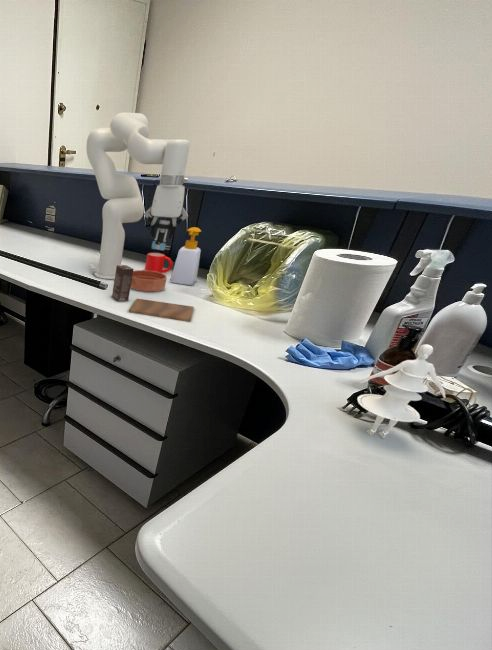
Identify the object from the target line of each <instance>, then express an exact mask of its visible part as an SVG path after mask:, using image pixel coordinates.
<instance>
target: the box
mask: <svg viewBox="0 0 492 650" xmlns="http://www.w3.org/2000/svg"><path fill="white" fill-rule="evenodd" d="M133 271H135V270H134V268H133V267H131V266H129V265H127V264H121V265H117V267H116V273H115V279H113V280H114V281H113V287H112V293H111V297H112V298H113V299H115V300H116V301H117V302H128V301H129V300H130V299H129V298H130V294H131V293H130V292H131V282H132V276H133Z"/></svg>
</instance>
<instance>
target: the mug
mask: <svg viewBox="0 0 492 650" xmlns="http://www.w3.org/2000/svg"><path fill="white" fill-rule="evenodd" d="M165 261H167V262H168V267H166V268H164V264H165ZM172 268H173V260H172V258H170V257H168V256H166V255H165V254H164V253H161V252H148V253H147V254H146V259H145V264H144V270H148V271H155V272H159V273H163V274H166V273H168V272H170V271H171V270H172Z"/></svg>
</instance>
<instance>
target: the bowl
mask: <svg viewBox="0 0 492 650" xmlns="http://www.w3.org/2000/svg"><path fill="white" fill-rule="evenodd" d="M167 279H168V276H167V274H166V273H159V272H155V271H148V270H145V269H143V270H142V269H141V270H139V269H138V270H133V276H132V282H131V288H132V289H133V290H135V291H142V292H149V293H151V292H159V291H162V290H164V289H165V288H166V283H167ZM131 288H130V289H131Z"/></svg>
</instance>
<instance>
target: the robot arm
mask: <svg viewBox="0 0 492 650" xmlns="http://www.w3.org/2000/svg"><path fill="white" fill-rule="evenodd" d="M109 125H110V126H109V127H97V128H95V129H93V130H91V131H90V132H89V134H88V135H87V138H86V145H85V146H86V147H85V148H86V155H87V159H88V161H89V163H90V167H92V169H93V172H94V176H95V180H96V183H97V186H98V190H99V193H100V196H101V197H102V199H104V200H107V201H106V202H105V203H104V204H103V207H102V212H101V213H102V214H101V216H102V234H101V242H100V243H101V244H100V251H99V260H98V263H97V264H94V263H90V264H89V266H88V267H89V269H90V270H94V276H95V277H97V278H98V279H99V278H100V279H105V280H115V273H116V267H117V265H122V261H123V260H122V259H123V253H124V247H125V239H126V238H125V237H126V232H125V229H124V227H123V224H127V223H137V222H139V221H141V219H142V218H143V216H144V217H145V218H146V219H147V221H149V223H150V224H151V230H150V235H151V237H152V238H154V237H156V234H157V227H156V226H157V224H156V223H157V222H158V219H159V218H170V219H171V220H172V223H171V224H172V226H171V228H170V229H169V236H168V238H169V239H172V238H173V237H174V236H175V232H176V227H177V226H178V225H179V224H180V223H182V222H183V221H184V220H186V219H187V218H188V217H189V215H188V213H187V211H186V209H185V208H184V207H183V206H184V201H185V193H186V192H185V191H186V190H185V188H186V187H185V185H183V184H185V183H188V182H189V178H188V177H185V174H186V173H185V172H186V167H187V163H188V158H189V152H190V146H191V144H190V140H188V139H184V138H183V139H182V138H180V139H176V138H175V139H164V138H149V136H150V130H149V120H148V118H147V117H146V115H145V114H144V113H140V112H128V111H127V112H126V111H125V112H124V111H123V112H119V113H117V114H116V115H114V116H113V118H112V119H111V121H110V124H109ZM126 150H127V152H128V155H129V157H131V158H132V159H133V160H135V161H136V162H137V163H139V164H141V165H162V166H161V171H160V178H159V185H157V186H156V189H155V192H154V195H153V200H152V204H151V206H150V207H149V208H148V209H147V210H146V211H145V206H144V201H143V197H142V194H141V190H140V187H139V184H138V181H137V179H136V178H135V177H134V176H133V175H131V174H129V173H127V174H126V173H118V171H117V169H116V165H115V162H114V160H113V159H112V158H111V157H110V155H108V154H107V153H121V152H124V151H126ZM181 215H182V216H181ZM179 217H180V218H179ZM177 218H178V219H177Z"/></svg>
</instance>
